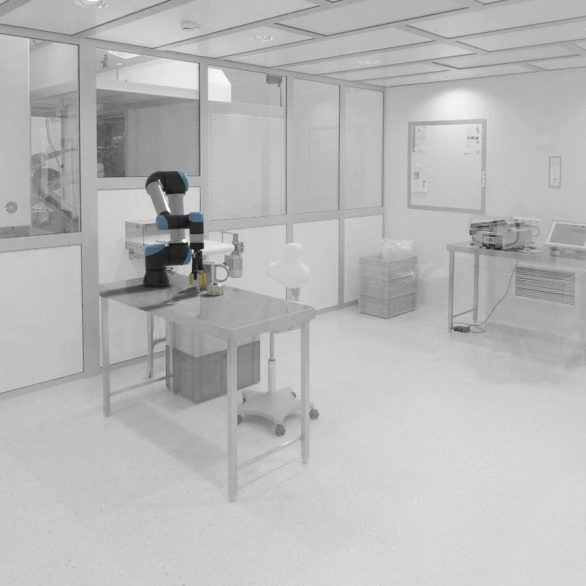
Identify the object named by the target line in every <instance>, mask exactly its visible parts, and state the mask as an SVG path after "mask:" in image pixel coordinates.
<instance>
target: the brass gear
mask: <svg viewBox="0 0 586 586" xmlns="http://www.w3.org/2000/svg"><path fill="white" fill-rule="evenodd" d="M188 280H189V281H188V284H189V285H190V286H193V274H191V272H190V273H188ZM198 283H199V286H201V285H206V284H207V282H206V273H203V272H198Z"/></svg>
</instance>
